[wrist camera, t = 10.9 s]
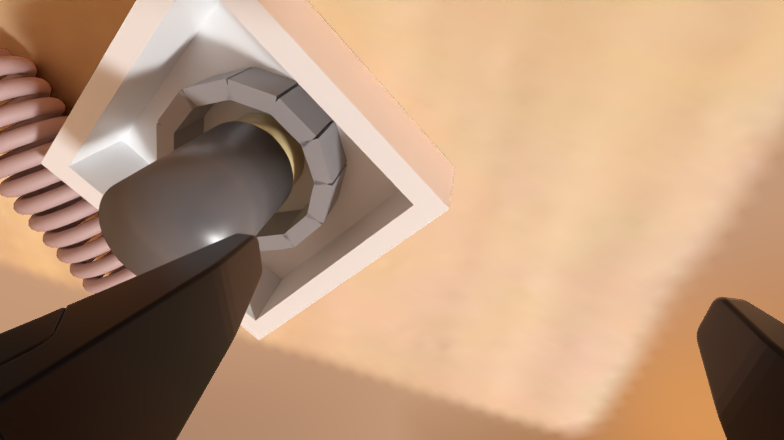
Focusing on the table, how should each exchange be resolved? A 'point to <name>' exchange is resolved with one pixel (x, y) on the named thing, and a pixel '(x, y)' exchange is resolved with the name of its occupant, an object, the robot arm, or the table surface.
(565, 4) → the table surface
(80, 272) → the coil
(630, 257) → the table surface
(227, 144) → the plug
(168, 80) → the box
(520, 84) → the table surface
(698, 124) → the table surface
